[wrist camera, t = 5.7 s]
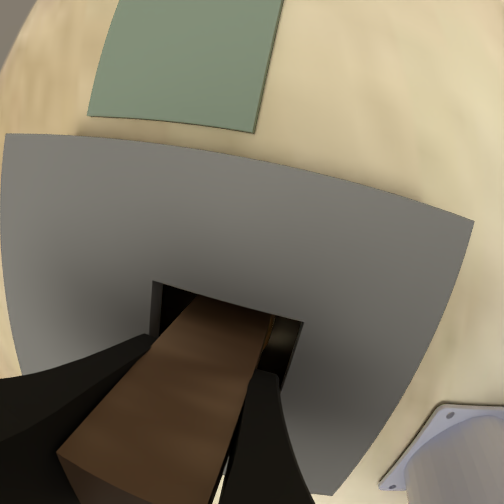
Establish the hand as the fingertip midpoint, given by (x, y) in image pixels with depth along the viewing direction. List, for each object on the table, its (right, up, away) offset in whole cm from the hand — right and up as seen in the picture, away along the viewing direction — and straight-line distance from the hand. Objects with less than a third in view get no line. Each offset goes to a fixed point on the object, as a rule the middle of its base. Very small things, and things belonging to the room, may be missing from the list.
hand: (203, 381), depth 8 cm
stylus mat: (-2, +13, +3) cm, 13 cm away
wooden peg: (+1, +1, +3) cm, 3 cm away
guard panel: (-1, +2, +5) cm, 6 cm away
